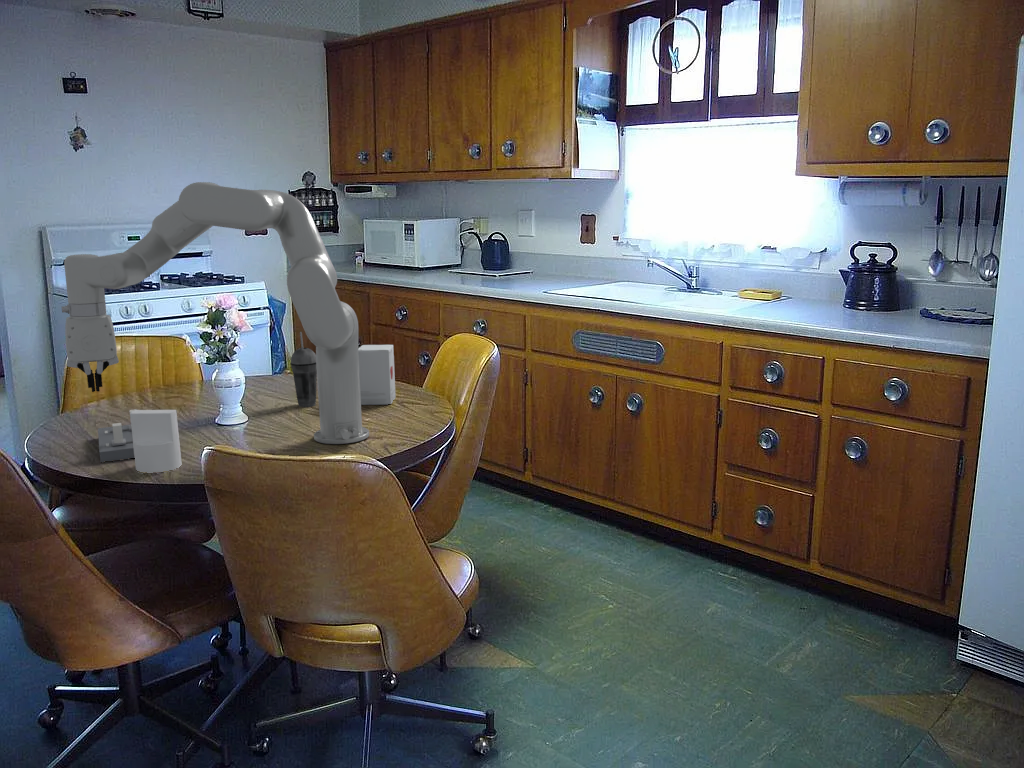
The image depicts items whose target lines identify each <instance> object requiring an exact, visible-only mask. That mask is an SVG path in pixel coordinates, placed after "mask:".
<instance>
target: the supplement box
mask: <svg viewBox="0 0 1024 768" xmlns="http://www.w3.org/2000/svg"><path fill="white" fill-rule="evenodd" d="M394 350H395V349H394V344H363V345H361V346H358V356H359V378H360V397H361V406H374V405H377V406H379V405H380V406H382V405H383V406H384V405H385V406H387V405H388V404H391V405H392V403H393V402H394V401H395V399H396V379H395V378H396V377H395V375H396V374H395V355H394ZM393 400H394V401H393ZM388 406H389V405H388Z"/></svg>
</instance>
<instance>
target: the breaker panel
mask: <svg viewBox="0 0 1024 768" xmlns="http://www.w3.org/2000/svg"><path fill="white" fill-rule="evenodd" d="M129 425H130V424H123V425H122V434H123V439H125V440H126V444H124V445H116V446H112V440H114V436H113V427H112V426H108V427H107V426H106V427H98V428H97V435H98V449H99V450H98V451H99V459H100V463H101V462H104V461H112V460H120V459H128V458H135V457H134V448H133V437H132V430H131V431H129ZM128 460H129V459H128ZM120 461H121V460H120Z"/></svg>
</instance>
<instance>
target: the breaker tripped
mask: <svg viewBox="0 0 1024 768" xmlns="http://www.w3.org/2000/svg"><path fill="white" fill-rule="evenodd" d="M128 410H129V411H128V413H129V414H130V413H131V412H133V411H135V410H139V409H138V408H135V409H128ZM129 420H130V422H131V419H129ZM128 425H129V431H131V430H132V428H131V424H128Z"/></svg>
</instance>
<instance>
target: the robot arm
mask: <svg viewBox="0 0 1024 768" xmlns="http://www.w3.org/2000/svg"><path fill="white" fill-rule="evenodd" d="M151 223H152V224H151V228H150V230H149V231H148V233H147V234H145V236H143V238H141V239H140V240H138V241H137V242H136V243H134V244H133V245H132V246H130V247H129V248H128V249H126V250H125V251H123V252H117V253H113V254H107V255H100V256H99V255H96V254H91V253H90V254H89V253H88V254H86V253H85V254H83V253H82V254H70V255H67V256H66V257H65V258H64V262H63V263H64V265H63V266H64V274H65V283H66V285H65V286H66V295H67V301H68V304H67V305H63V306H61V313H66V314H69V316H67V317H66V318H65V327H64V328H65V331H64V332H65V333H64V335H65V337H64V338H65V350H66V358H67V359H66V366H67V367H68V368H75V369H76V368H77V369H79V371H81V372H83V373H84V374H85V375H86V377H87V378H86V380H87V388H88V389H91V392H92V393H94V392H100V388H103V376H102V375H103V372H104V371H105V370H106V369H107V368H108V367H111V366H113V365H116V364H119V362H120V360H119V357H118V355H117V354H118V353H117V352H118V351H117V341H116V334H115V328H114V324H113V320H112V317H111V315H110V314H107V305H106V304H107V303H106V297H105V296H106V293H105V289H109V290H120V289H124V288H127V287H131V286H135V285H137V284H139V283H141V282H142V281H144V280H145V279H147V278H148V277H150V276H151V275H152V274H154V273H155V272H156V271H158V270H159V269H160V268H162V267H163V266H164V265H166V264H167V263H168V262H170V260H172V259H173V258H174V257H175V256H176V255H178V254H179V252H181V251H182V250H183V249H184V248H185V247H187V246H188V245H189V244H190V243H192V242H193V241H194V240H196V239H197V238H198V237H201V235H203V234H204V233H205V232H206V231H209V229H211V228H212V227H218V228H219V227H220V228H228V229H233V230H242V231H250V232H251V231H252V232H258V231H264V230H268V229H274V230H275V231H276V232H277V234H278V236H279V239H280V242H281V246H282V248H283V251H284V253H285V254H286V257H287V259H288V261H289V265H290V268H289V270H288V272H287V276H286V286H287V291H288V295H289V296H290V299H291V302H292V304H293V306H294V309H295V311H296V314H297V317H298V318H299V321H300V322H301V325H302V327H303V330H304V332H305V335H306V336H307V339H308V340H309V341H310V342H311V343H312V344H313V345H314V346H315V354H316V367H317V384H316V386H317V397H318V411H319V428H320V429H319V430H317V431H315V432H314V433H313V438H314V439H313V440H314V441H316V442H318V443H321V444H327V445H343V444H351V443H358V442H360V441H364V440H365V439H368V437H370V430H369V429H368V428H366V427H364V426H363V420H362V405H361V397H360V378H359V356H358V349H359V320H358V316H357V313H356V312H355V310H354V309H353V307H351V305H349V304H348V303H346V302H345V301H341V300H340V298H339V295H338V293H337V290H336V286H337V284H338V274H337V271H336V269H335V266H334V265H333V262H332V260H331V258H330V255H329V253H328V251H327V249H326V245H325V243H324V241H323V239H322V237H321V234H320V232H319V229H318V228H317V226H316V225H317V224H316V223H315V221H314V219H313V217H312V214H311V213H310V211H309V209H308V208H307V207H306V206H305V205H304V203H303V202H302V201H300V200H299V198H297V197H295V196H293V195H292V194H290V193H287V192H283V191H280V190H279V191H278V190H273V189H247V188H246V189H245V188H237V187H231V186H224V185H223V186H221V185H219V184H218V183H214V182H210V181H208V182H207V181H203V182H202V181H195V182H193V183H189V184H188V185H187V186H185V187H184V188H183V189H182V190H181V192H180V194H179V196H178V200H177V201H176V202H174V203H173V204H172V205H170V206H169V207H168V208H167V209H165V210H164V211H162V212H160V213H159V215H157V216H155V217H154V219H153V220H152V222H151ZM94 362H96V369H95V371H94V372H93V369H92V368H91V365H90V363H94Z"/></svg>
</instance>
